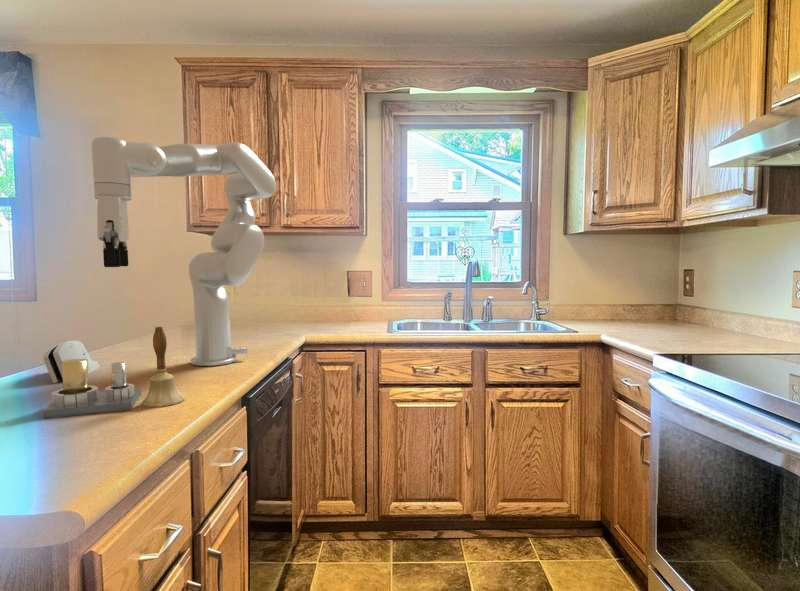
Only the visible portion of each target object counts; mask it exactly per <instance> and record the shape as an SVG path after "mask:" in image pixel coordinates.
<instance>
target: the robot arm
mask: <svg viewBox="0 0 800 591" xmlns="http://www.w3.org/2000/svg"><path fill="white" fill-rule="evenodd" d="M91 159H92V176H93V178H92V179H93V194H94V198H93V199H95V200H97V210H96V213H97V214H96V218H97V220H96V225H97V226H96V228H97V231H96V233H97V239H98V240H99V241H100V242H103V243H102V244H103V245H102V252H103V254H102V255H103V267H105V268H119V267H128V266H129V250H128V245H127V242H128V241H129V218H128V217H129V216H128V204H127V203H128V202H130V201H132V184H131V183H132V181H131V180H132V178H154V177H173V178H175V177H177V178H178V177H179V178H180V177H198V176H201V177H203V176H204V177H205V176H224V175H225V176H226V175H229V176H228V177H227V178H226V179H225V181H224V192H225V195H226V198H227V202H228V203H227V204H228V210H227V212H226V214H225V216H224V217H223V220H222V221H221V222H220V224H219V225H218V227H217V229H216V230H215V232H214V233H213V236H212V237H211V242H210V244H211V248H212V251H213V252H212V251H211V252H208V251H207V252H202V253H199V254H196V255H195V256H193V258H191V260H190V262H189V264H188V274H189V278H190V279H189V280H190V283H191V287H192V293H193V294H192V295H193V312H194V313H193V314H194V316H193V317H194V337H195V338H194V339H195V356H194V357H191V358H190V364H191V365H192V366H200V367H204V366H205V367H209V366H210V367H211V366H221V365H228V364H231V363H234V362H236V361H237V360H238V359H237V358H238V356H237V355H247V354H248V347H246V346H245V347H243V346H240V347H235V346H233V343H231V341H232V340H231V318H230V316H231V315H230V314H231V313H230V299H229V295H228V292H227V289H225V287H239V286H241V285H242V284H244V283H245V282H246V281H247V280H248V278H249V276H250V275H251V273H252V271H253V269H254V267H255V266H256V264H257V262H258V261H259V259H260V257H261V256H262V253H263V251H264V247H265V235H264V233H263V230H261V228H260V227H259V226H257V225H255V223H256V213H255V211H254V208H253V207H252V203H251V201H252V200H264V199H269V198H271V197H273V195H274V194H275V192H276V190H277V183H276V179H275V177H274V175H273V173H272V172H271V170H270V169H269V168H268V167H267V165H265V163H263V161H262V160H261V159H260V158H259V157H258V156H257V154H255V153H254V151H253V150H252V149H250V148H249V147H248V146H247V145H245V144H243V143H241V142H237V141H235V142H230V143H229V142H228V143H224V144H223V143H222V144H203V143H202V144H201V143H177V144H169V145H166V146H165V145H164V146H157V145H156V144H153V143H149V142H140V141H137V142H136V141H126V140H124V139H121V138H118V137H110V136H99V137H95V138H93V140H92V141H91Z"/></svg>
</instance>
